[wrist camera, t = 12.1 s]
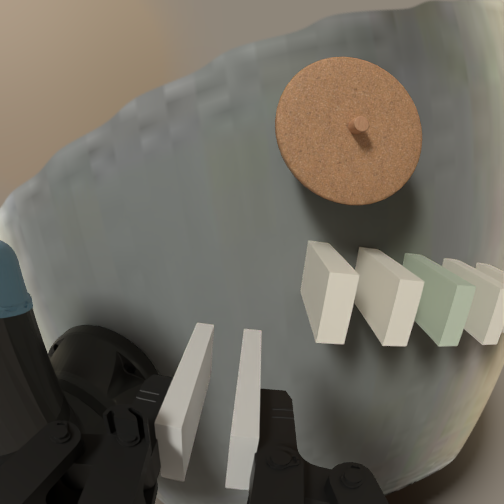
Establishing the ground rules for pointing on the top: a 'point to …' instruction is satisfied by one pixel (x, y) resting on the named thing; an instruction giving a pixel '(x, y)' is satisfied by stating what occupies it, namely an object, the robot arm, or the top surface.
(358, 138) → the lidded jar
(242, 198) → the top surface
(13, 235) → the top surface
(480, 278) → the tile
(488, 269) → the tile
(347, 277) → the tile
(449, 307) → the tile
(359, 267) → the tile
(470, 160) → the top surface
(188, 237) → the top surface
